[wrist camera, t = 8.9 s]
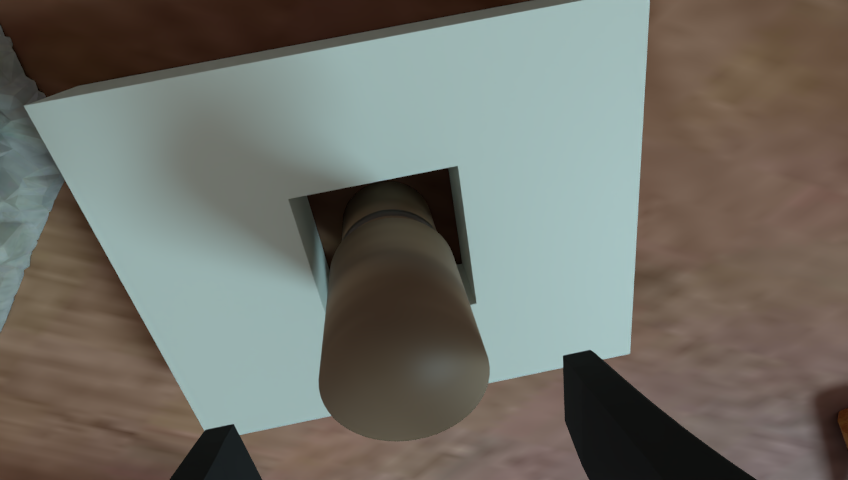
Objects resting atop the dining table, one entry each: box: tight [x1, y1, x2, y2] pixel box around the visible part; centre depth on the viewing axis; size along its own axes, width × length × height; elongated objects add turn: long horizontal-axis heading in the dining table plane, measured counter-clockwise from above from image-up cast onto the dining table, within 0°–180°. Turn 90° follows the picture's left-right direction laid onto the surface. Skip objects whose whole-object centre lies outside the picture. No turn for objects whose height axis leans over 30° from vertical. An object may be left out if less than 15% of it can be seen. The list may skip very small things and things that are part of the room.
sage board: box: [24, 0, 650, 435], centre depth 18 cm, size 18×14×3 cm
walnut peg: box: [318, 181, 490, 441], centre depth 16 cm, size 4×4×9 cm
